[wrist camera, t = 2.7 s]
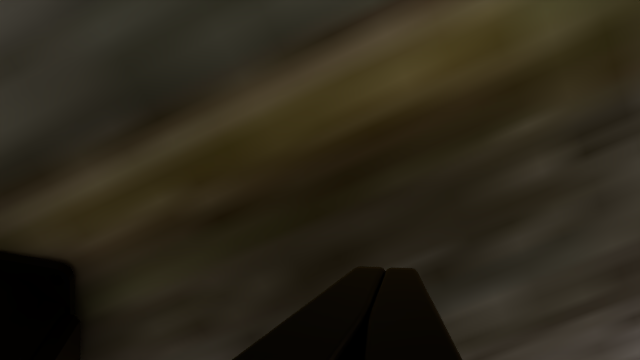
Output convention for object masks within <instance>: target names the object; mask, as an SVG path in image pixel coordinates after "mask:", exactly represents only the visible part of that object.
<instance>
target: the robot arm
mask: <svg viewBox="0 0 640 360" xmlns="http://www.w3.org/2000/svg"><path fill="white" fill-rule="evenodd" d="M55 274H57V275H59V276H61V277H62V279H59V278H57V277H56V276H55ZM0 360H80V321H79V319H78V317H77V316H76V315H74V272H73V271H72V269H71V268H70V267H69V266H67V265H66V264H63V263H59V262H53V261H48V260H42V259H36V258H31V257H25V256H19V255H13V254H8V253H2V252H0ZM232 360H462V358H461V356H460V354H459V352H458V350H457V348H456V347H455V345H454V343H453V341H452V339H451V337H450V335H449V333H448V331H447V329H446V327H445V325H444V323H443V321H442V319H441V317H440V315H439V313H438V311H437V309H436V308H435V306H434V304H433V302H432V300H431V298H430V296H429V294H428V292H427V290H426V288H425V286H424V284H423V282H422V280H421V278H420V276H419V274H418V273H417V271H416V270H415V269H412V268H389V269H387V270H386V271H385V270H384V269H383V268H381V267H357V268H355V269H353V270H352V271H351V272H349V273H348V274H346V275H345V276H344V277H342V278H341V279H340V280H338V281H337V282H336V283H334V284H333V285H332V286H330V287H329V288H328V289H326V290H325V291H324V292H322V293H321V294H320V295H318V296H317V297H316V298H314V299H313V300H312V301H310V302H309V303H308V304H306V305H305V306H304V307H302V308H301V309H300V310H298V311H297V312H295V313H294V314H293V315H291V316H290V317H289V318H287V319H286V320H285V321H283V322H282V323H281V324H279V325H278V326H277V327H275V328H274V329H273V330H271V331H270V332H269V333H267V334H266V335H265V336H263V337H262V338H261V339H259V340H258V341H257V342H255V343H254V344H253V345H251V346H250V347H248V348H247V349H246V350H244V351H243V352H242V353H240V354H239V355H238V356H236V357H235V358H234V359H232Z"/></svg>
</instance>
